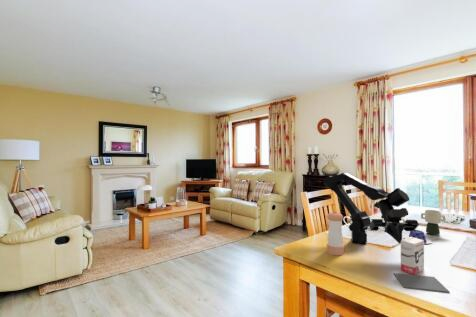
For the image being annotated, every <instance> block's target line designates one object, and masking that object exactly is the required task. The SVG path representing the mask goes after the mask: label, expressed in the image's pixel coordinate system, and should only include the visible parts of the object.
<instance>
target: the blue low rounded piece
mask: <svg viewBox="0 0 476 317" xmlns="http://www.w3.org/2000/svg"><path fill="white" fill-rule="evenodd" d="M408 236H409V237H414V238H418V239H421V240H424V245H425V244H426V245H428V244H432V240H431V239H428V238H426V234H425V232H424V231H422V230H419V229H415V230H414V231H409V235H408Z"/></svg>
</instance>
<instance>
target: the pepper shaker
mask: <svg viewBox="0 0 476 317" xmlns="http://www.w3.org/2000/svg"><path fill="white" fill-rule="evenodd" d="M326 217H327V219H328V234H327V244H326V252H327V254H329V255H332V256H343V255H344V254H345V250H344V249H345V247H344V243H343V242H344V237H343V236H344V235H343V232H342V230H343V229H342V221H343V220H344V215H343V214H342V213H340V212H337V210H333V211H331V212H329V213H328V214H327V216H326Z"/></svg>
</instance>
